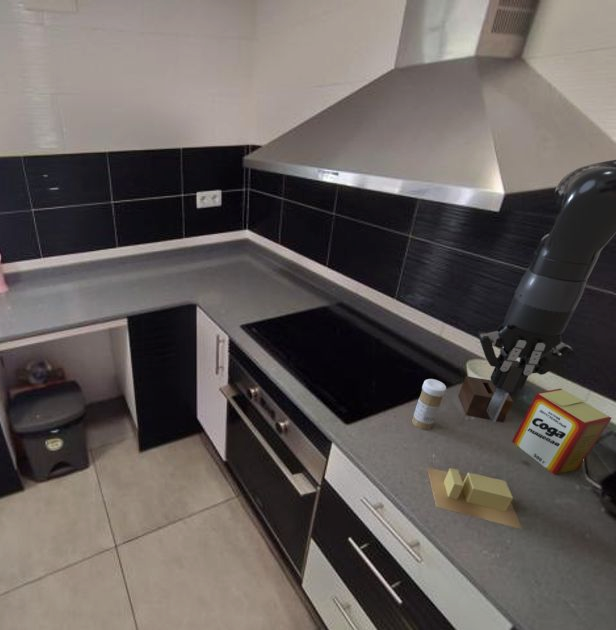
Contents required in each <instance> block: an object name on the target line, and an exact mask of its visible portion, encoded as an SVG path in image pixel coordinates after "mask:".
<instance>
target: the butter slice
mask: <svg viewBox="0 0 616 630" xmlns="http://www.w3.org/2000/svg"><path fill="white" fill-rule="evenodd" d="M447 472H448V473H447V475H446V478H445V480H444V484H445V487H446V491H447V495H448V498H452V499H456V500H457V499H458V497H459V495H460V493H461V491H462V488H463V483H462V479H461V476H460V475H461V474H460V470H458V469H455V468H451V467H449V468H448V471H447Z"/></svg>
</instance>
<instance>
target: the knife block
mask: <svg viewBox="0 0 616 630" xmlns="http://www.w3.org/2000/svg"><path fill="white" fill-rule="evenodd" d="M495 390H496V388H495V386H494V384H493V383H492V381H491V379H486V378H479V377H475V376H468V375H465V377H464V379H463V382H462V385H461V387H460V389H459V391H458V395H457V398H458V399H459V402H460V404H461V407H462V409H463V411H464V414H465V416H469V417H474V418H480V419H485V420H490V421H491V419H490V417H489V415H488V413H487V408H488V406H489V403H490V401H491V399H492V397H493V395H494V392H495ZM513 403H514V400H513V399H512V397H511V395H510V394H508V396H507V398H506V400H505V402H504V405H503V407H502V409H501V411H500V413H499V415H498V417H497V419H496V422H500V423H504V421H505V419H506V417H507V415H508V413H509V411H510V409H511V407H512V405H513Z"/></svg>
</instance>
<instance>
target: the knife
mask: <svg viewBox="0 0 616 630" xmlns="http://www.w3.org/2000/svg"><path fill="white" fill-rule="evenodd" d="M522 371H523V367H522V366H521V364H520V363H519V360H516V361H515V362H513V363H512V365H511V366H510V368H509V370H508V371H507V372H508V374H507V376H506V378H505V380H504V383H503V385H502V387H501V388H496V390H495V392H494V395H493V397H492V399H491V401H490V403H489V406H488V408H487V413H488V415H489V417H490V419H491V420H490V421H491V423H492V424H496V422H497V421H496V419H497V417H498V415H499V413H500V411H501V409H502V407H503V405H504V402H505V400H506V398H507V396H508V394H509V393H513V392H514V391H513V390H514V388H515V386H516V384H517V382H518V380H519V378H520V375H521V373H522ZM509 395H510V394H509Z"/></svg>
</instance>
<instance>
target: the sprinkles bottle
mask: <svg viewBox="0 0 616 630" xmlns="http://www.w3.org/2000/svg"><path fill="white" fill-rule="evenodd" d="M446 391H447V386H446V385H445V383H443V382H442V381H440V380H438V379H434V378H428V379H425V380H424V381H423V384H422V386H421V393H420V395H419V398H418V401H417V404H416V407H415V409H414V413H413V417H412V419H411V422H412V424H413V425H414V426H415V427H416V428H418V429H421V430H426V431H428V430H431V429H432V427H433V424H434V422H435V419H436V418H437V414H438V413H439V409H440V406H441V403H442V399H443V397H444V396H445V394H446Z"/></svg>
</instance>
